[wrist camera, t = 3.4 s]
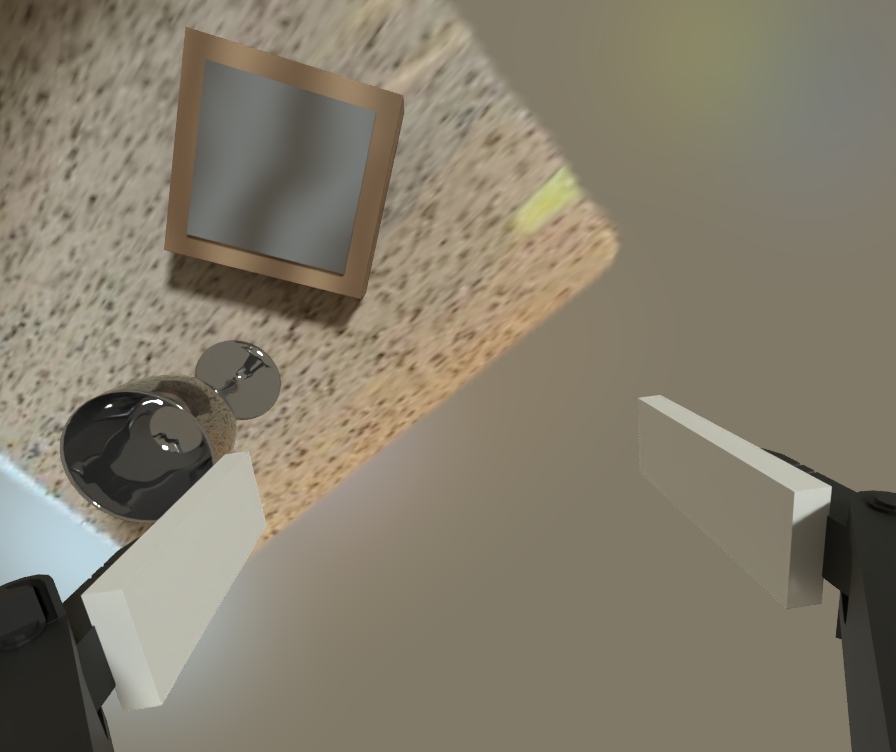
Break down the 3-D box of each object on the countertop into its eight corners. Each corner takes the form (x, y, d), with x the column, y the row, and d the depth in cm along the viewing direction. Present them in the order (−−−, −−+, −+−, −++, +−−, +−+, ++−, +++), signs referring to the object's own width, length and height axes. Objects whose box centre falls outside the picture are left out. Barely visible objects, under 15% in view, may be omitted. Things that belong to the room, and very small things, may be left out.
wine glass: (296, 353, 39) (228, 418, 25) (271, 435, 41) (196, 538, 27) (201, 322, 38) (71, 370, 23) (180, 407, 40) (49, 501, 25)
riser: (190, 249, 36) (161, 249, 32) (212, 52, 33) (183, 24, 29) (365, 293, 38) (359, 299, 34) (404, 111, 35) (403, 94, 30)
